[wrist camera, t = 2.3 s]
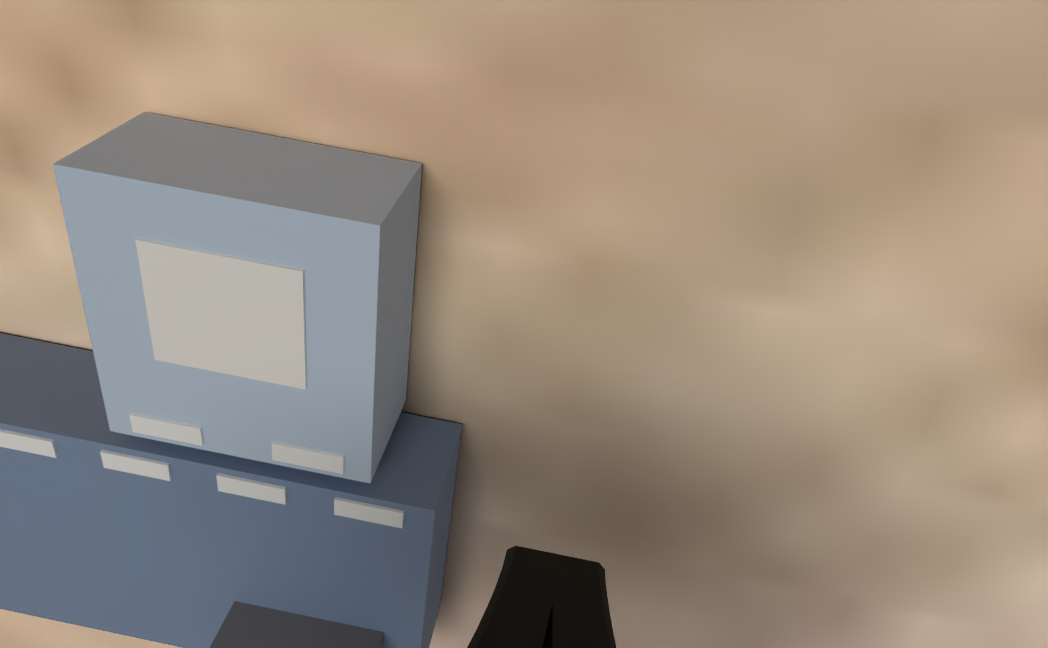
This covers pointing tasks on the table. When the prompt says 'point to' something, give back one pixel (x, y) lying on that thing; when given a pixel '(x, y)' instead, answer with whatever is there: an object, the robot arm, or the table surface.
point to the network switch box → (210, 526)
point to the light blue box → (246, 289)
